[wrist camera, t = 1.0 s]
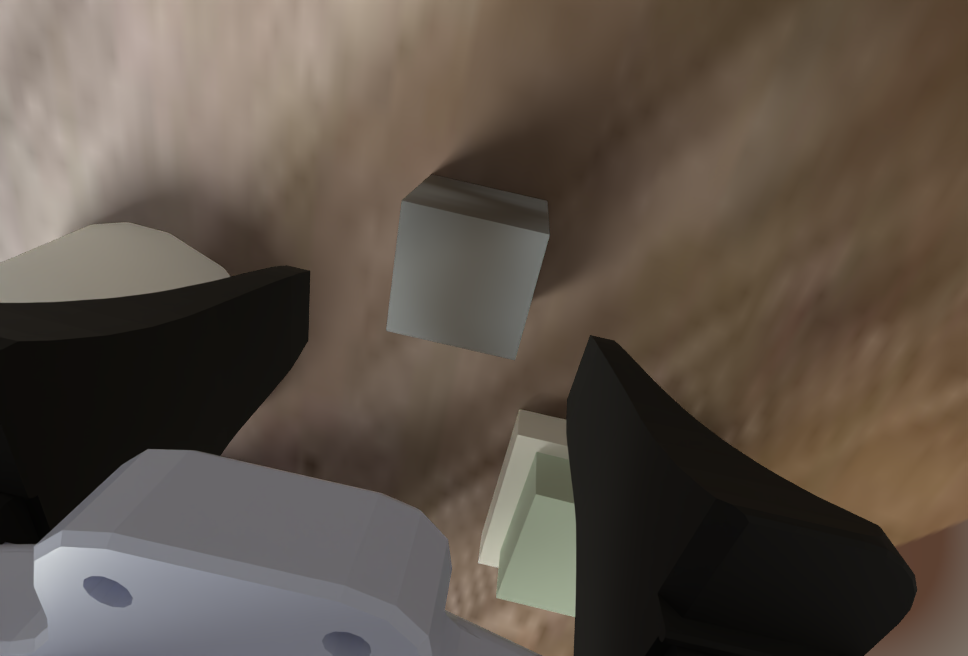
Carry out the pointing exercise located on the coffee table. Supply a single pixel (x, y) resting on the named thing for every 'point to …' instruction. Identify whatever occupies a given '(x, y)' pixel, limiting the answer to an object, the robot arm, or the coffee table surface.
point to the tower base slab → (519, 475)
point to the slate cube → (467, 265)
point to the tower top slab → (542, 541)
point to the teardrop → (105, 266)
